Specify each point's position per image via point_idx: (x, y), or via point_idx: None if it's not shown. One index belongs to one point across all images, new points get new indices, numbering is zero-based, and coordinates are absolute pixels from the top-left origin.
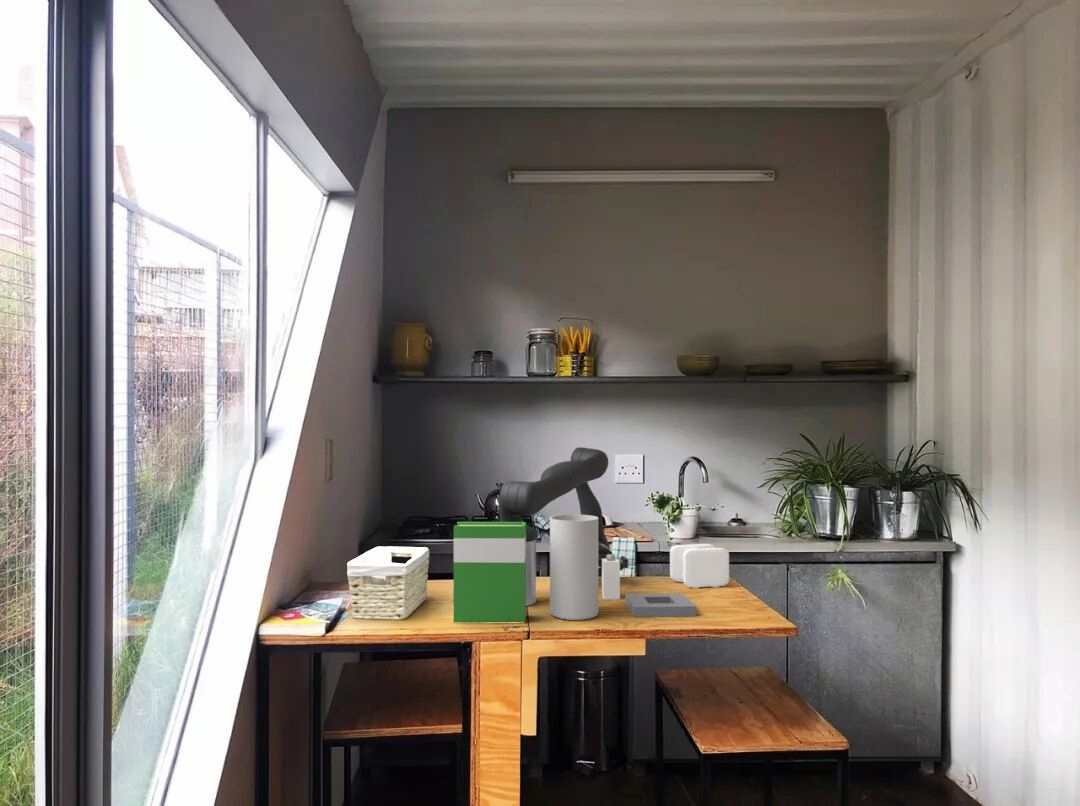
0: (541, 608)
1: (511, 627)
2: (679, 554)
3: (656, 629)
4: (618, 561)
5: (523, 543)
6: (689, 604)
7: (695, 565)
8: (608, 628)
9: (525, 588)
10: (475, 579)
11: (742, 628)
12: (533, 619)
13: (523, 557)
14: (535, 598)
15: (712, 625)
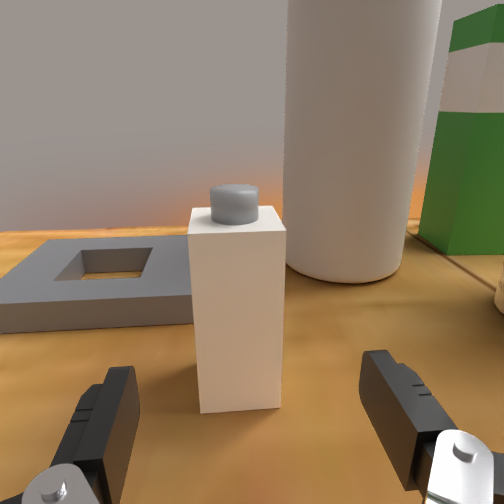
0: (445, 284)
1: None
2: None
3: (177, 226)
4: (198, 208)
5: (448, 65)
6: (51, 245)
7: None
8: None
9: (449, 185)
10: None
11: (20, 231)
12: (414, 243)
13: (443, 99)
14: (501, 296)
15: (63, 236)
